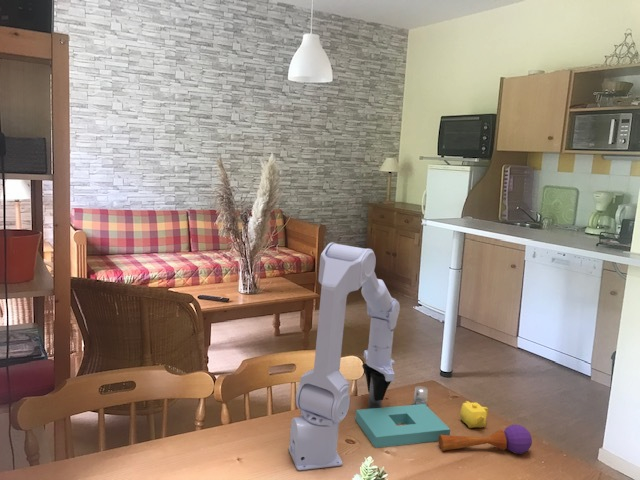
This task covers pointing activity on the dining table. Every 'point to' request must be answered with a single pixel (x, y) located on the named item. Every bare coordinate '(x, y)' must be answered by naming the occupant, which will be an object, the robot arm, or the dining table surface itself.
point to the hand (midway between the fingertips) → (375, 396)
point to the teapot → (474, 414)
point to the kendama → (492, 440)
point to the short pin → (420, 395)
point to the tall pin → (372, 402)
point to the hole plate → (386, 432)
